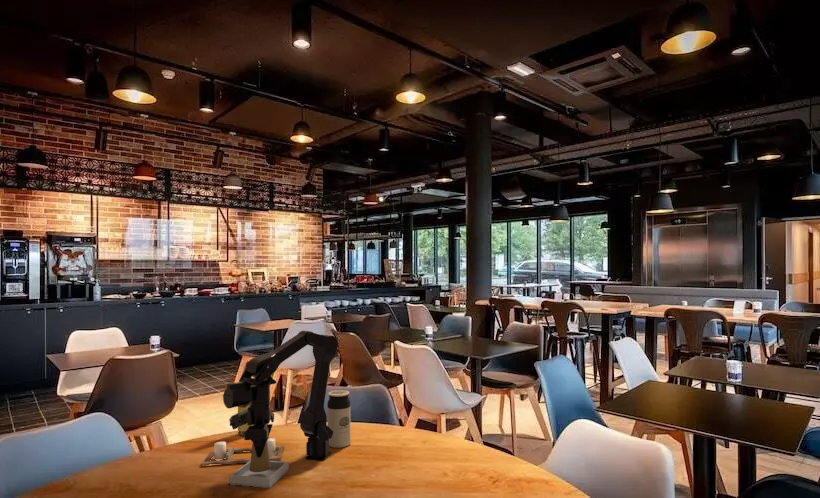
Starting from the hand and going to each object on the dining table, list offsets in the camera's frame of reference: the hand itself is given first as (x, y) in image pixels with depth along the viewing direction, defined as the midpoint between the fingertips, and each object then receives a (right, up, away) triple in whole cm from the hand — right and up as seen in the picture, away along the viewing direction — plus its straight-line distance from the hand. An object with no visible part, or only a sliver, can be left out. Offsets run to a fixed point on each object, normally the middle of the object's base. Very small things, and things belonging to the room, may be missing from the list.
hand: (260, 454), depth 145 cm
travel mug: (+20, -8, +27) cm, 34 cm away
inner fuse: (-2, -8, +17) cm, 19 cm away
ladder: (-10, -8, +16) cm, 21 cm away
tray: (0, -7, 0) cm, 7 cm away
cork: (0, -4, 0) cm, 4 cm away
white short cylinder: (-18, -8, +15) cm, 24 cm away
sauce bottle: (-18, -9, +40) cm, 45 cm away
